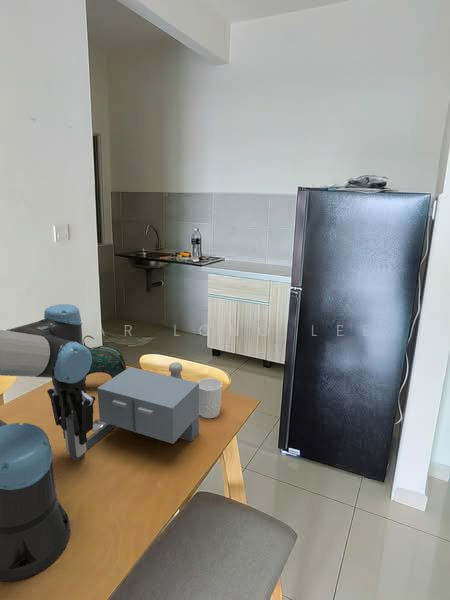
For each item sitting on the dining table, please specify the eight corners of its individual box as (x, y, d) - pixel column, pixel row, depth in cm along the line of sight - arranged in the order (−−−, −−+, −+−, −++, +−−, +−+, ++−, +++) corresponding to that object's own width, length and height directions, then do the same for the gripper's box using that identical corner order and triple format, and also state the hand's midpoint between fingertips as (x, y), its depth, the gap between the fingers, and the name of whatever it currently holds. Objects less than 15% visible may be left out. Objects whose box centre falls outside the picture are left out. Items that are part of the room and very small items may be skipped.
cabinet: (171, 466, 94) (170, 410, 90) (99, 442, 103) (94, 389, 99) (198, 433, 108) (198, 383, 103) (132, 414, 116) (129, 366, 112)
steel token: (112, 431, 108) (112, 428, 108) (90, 434, 107) (90, 431, 106) (112, 419, 114) (112, 416, 114) (91, 422, 112) (91, 419, 112)
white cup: (226, 412, 118) (227, 383, 116) (208, 422, 113) (209, 393, 110) (209, 403, 123) (209, 375, 121) (191, 412, 118) (191, 383, 115)
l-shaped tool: (77, 460, 96) (73, 419, 92) (70, 458, 97) (65, 417, 93) (123, 422, 112) (120, 386, 108) (116, 420, 113) (113, 384, 109)
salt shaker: (188, 398, 126) (188, 363, 122) (177, 406, 121) (177, 369, 117) (175, 393, 129) (174, 358, 125) (163, 401, 124) (162, 365, 120)
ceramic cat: (66, 393, 128) (60, 338, 122) (73, 384, 134) (68, 331, 128) (125, 394, 128) (122, 339, 122) (129, 384, 134) (127, 332, 129)
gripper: (104, 368, 91) (110, 451, 97) (56, 356, 97) (65, 435, 103) (81, 381, 84) (90, 470, 90) (31, 368, 90) (42, 452, 96)
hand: (76, 451), depth 97 cm, fingers closed on l-shaped tool, 2 cm apart
